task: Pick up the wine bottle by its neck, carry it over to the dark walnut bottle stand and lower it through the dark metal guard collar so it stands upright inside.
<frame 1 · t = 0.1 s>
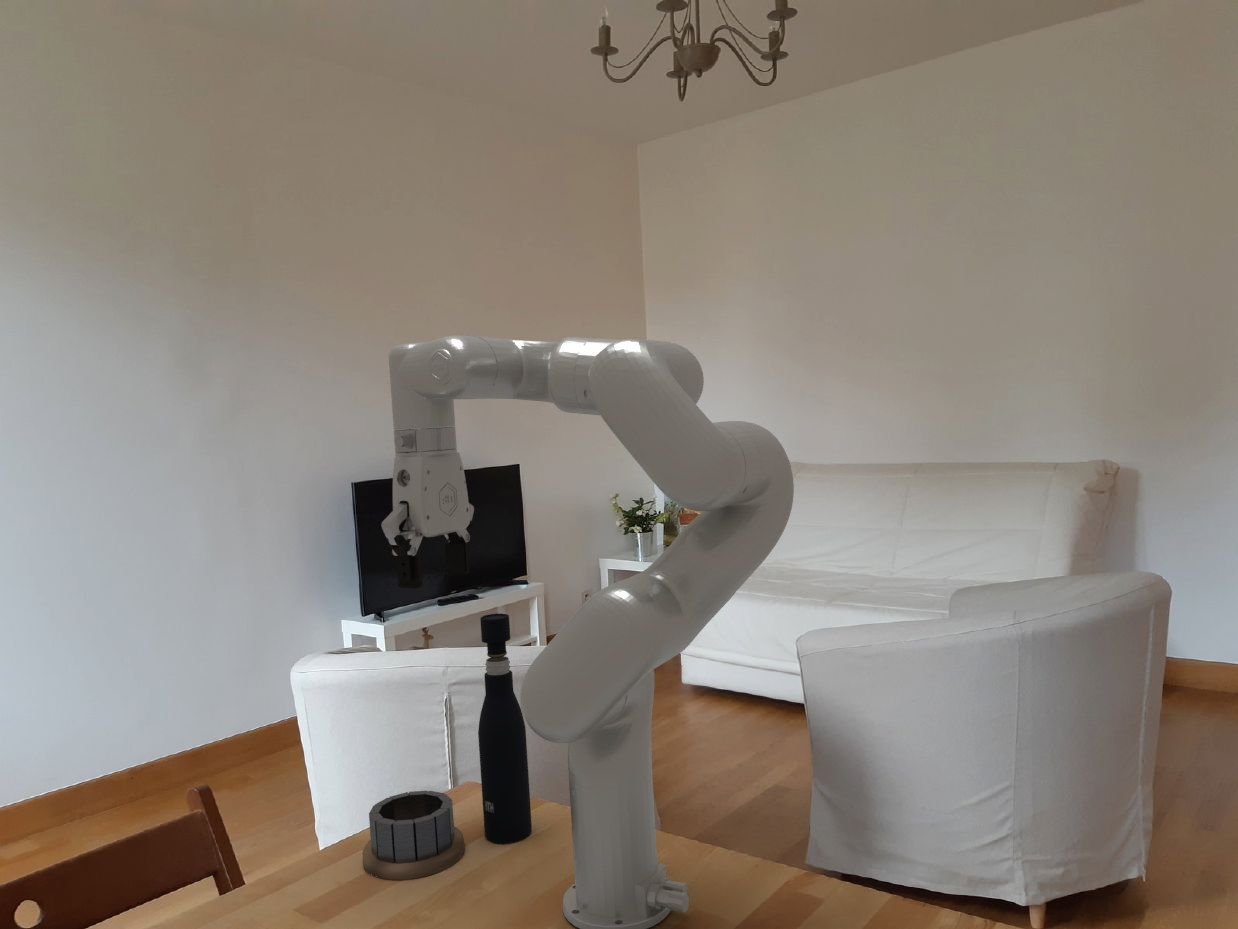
hand: (435, 580, 117), 37 cm above the table, tool pointing down, fingers open, 9 cm apart
bottle stand: (414, 855, 123), on the table
wine bottle: (508, 835, 127), on the table
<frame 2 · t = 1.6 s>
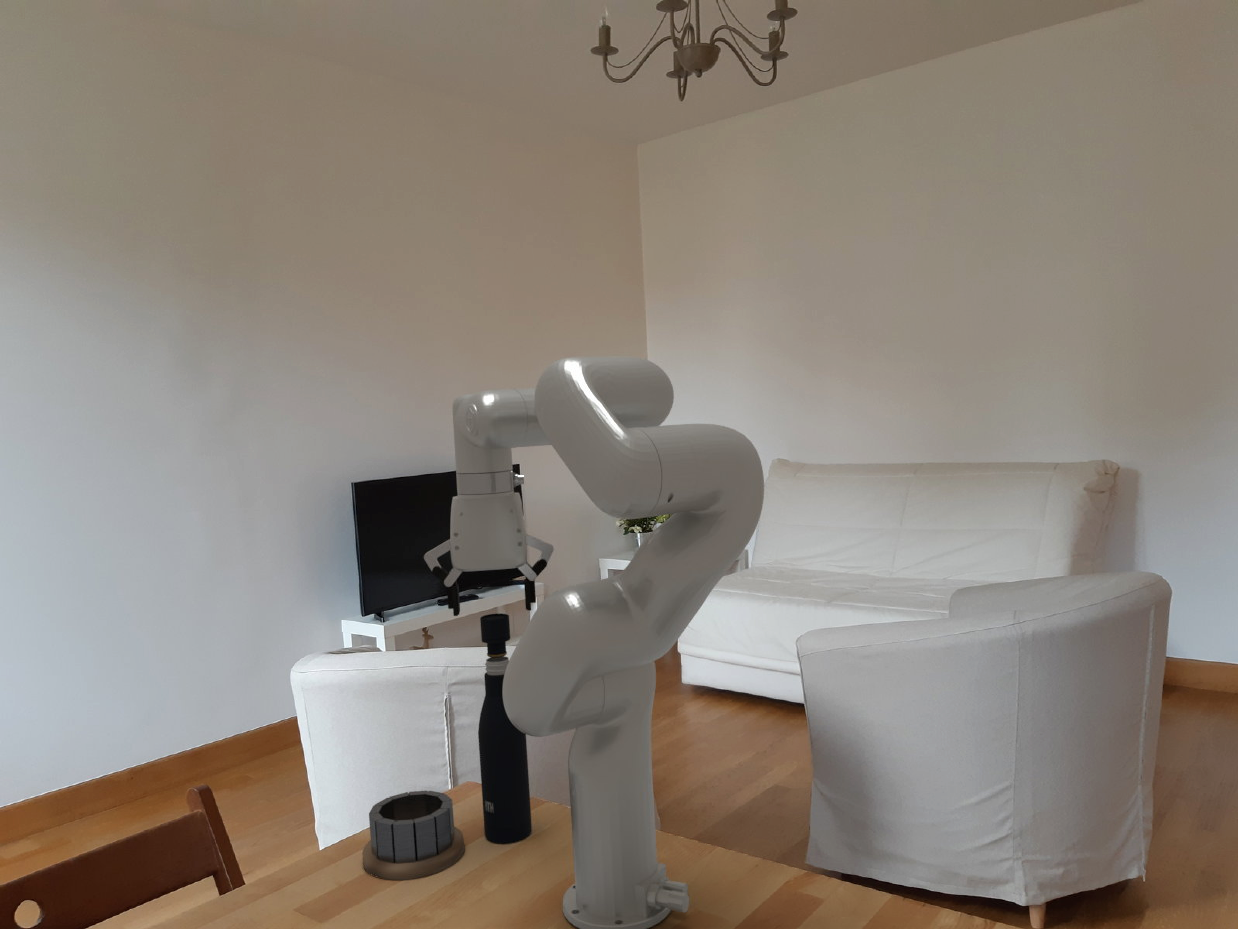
hand: (492, 611, 126), 31 cm above the table, tool pointing down, fingers open, 9 cm apart
nothing on the table moved.
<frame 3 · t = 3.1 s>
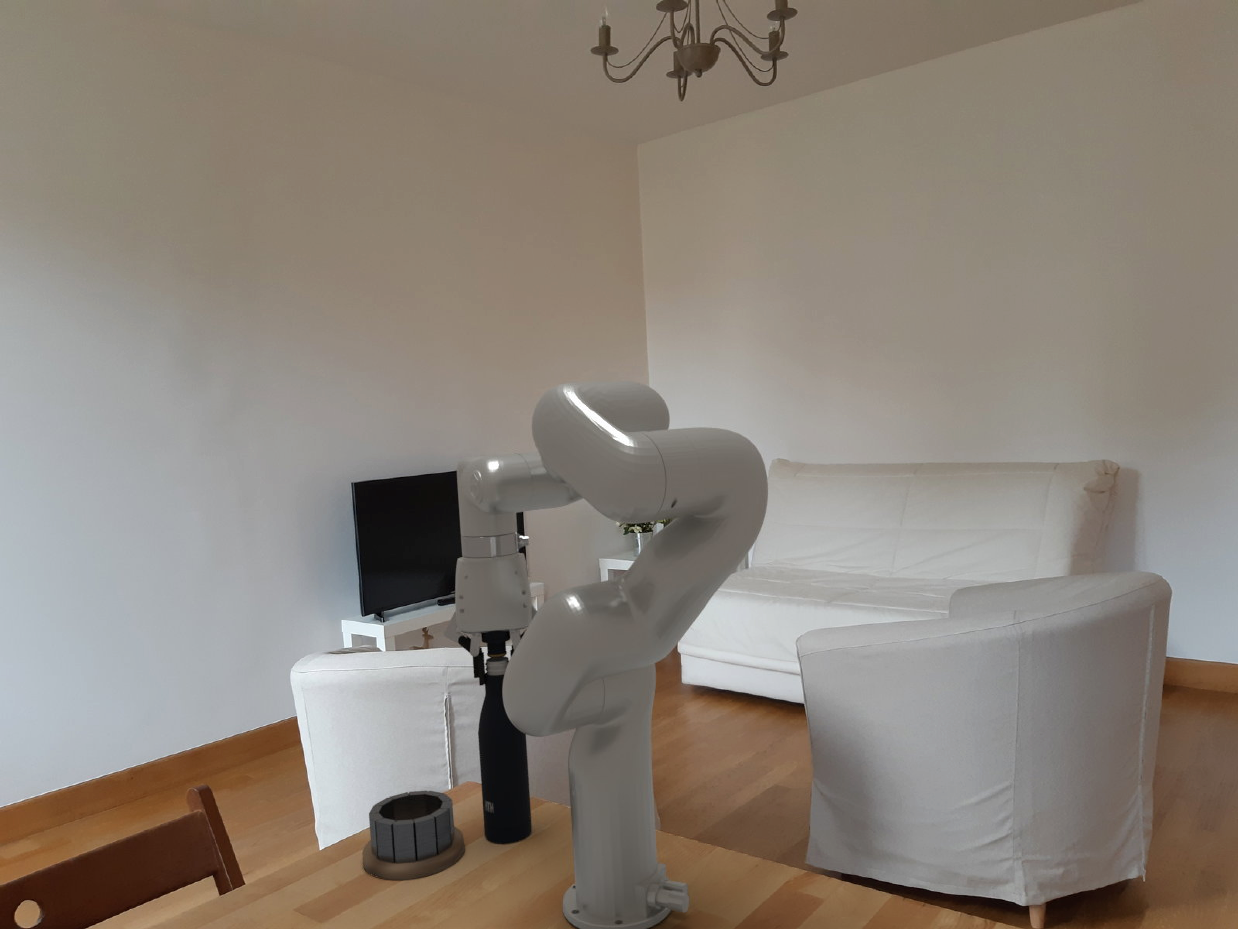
hand: (498, 680, 126), 21 cm above the table, tool pointing down, fingers closed on wine bottle, 3 cm apart
wine bottle: (508, 835, 127), on the table, touching gripper
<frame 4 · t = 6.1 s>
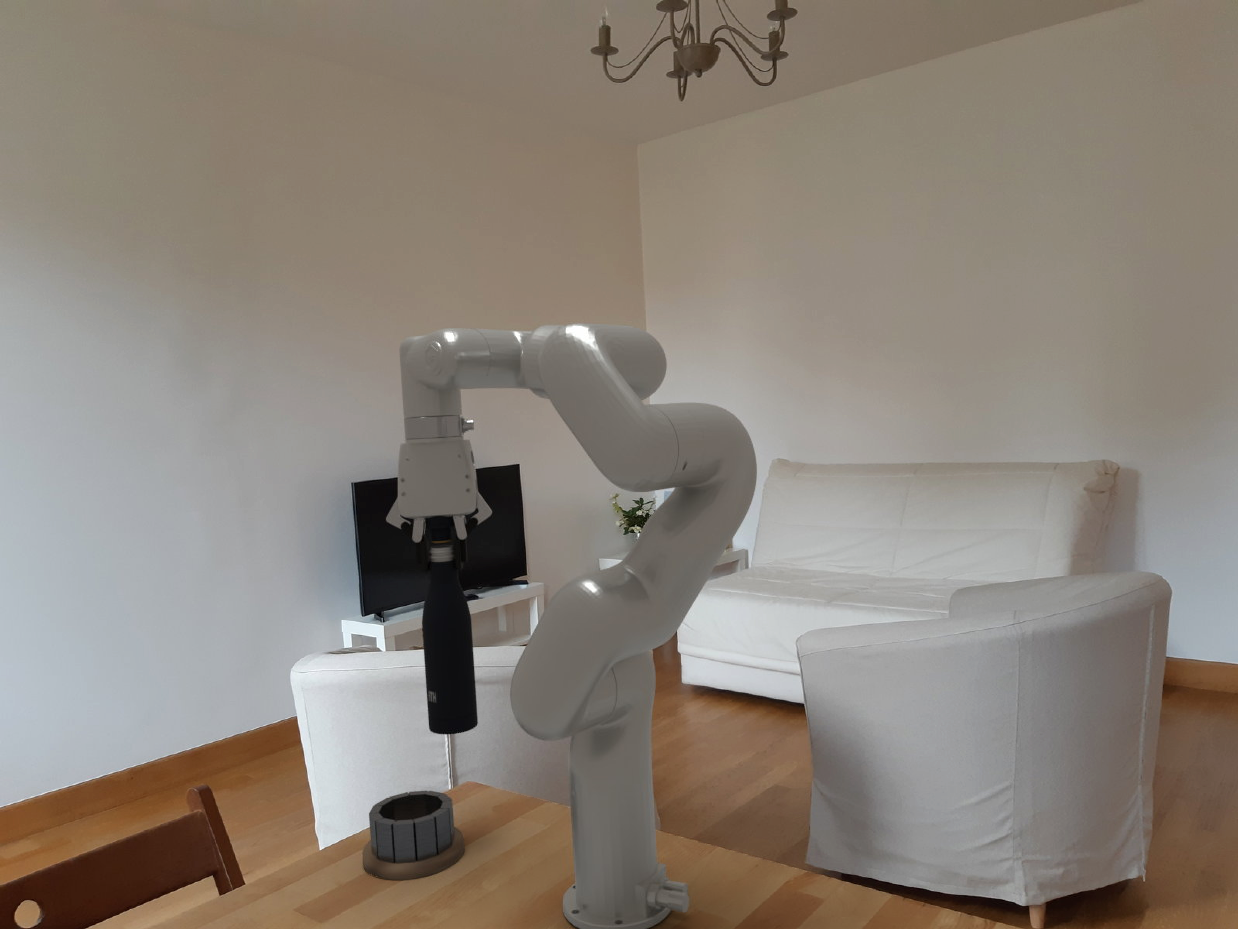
hand: (442, 568, 123), 37 cm above the table, tool pointing down, fingers closed on wine bottle, 3 cm apart
wine bottle: (453, 728, 124), point 16 cm above the table, touching gripper
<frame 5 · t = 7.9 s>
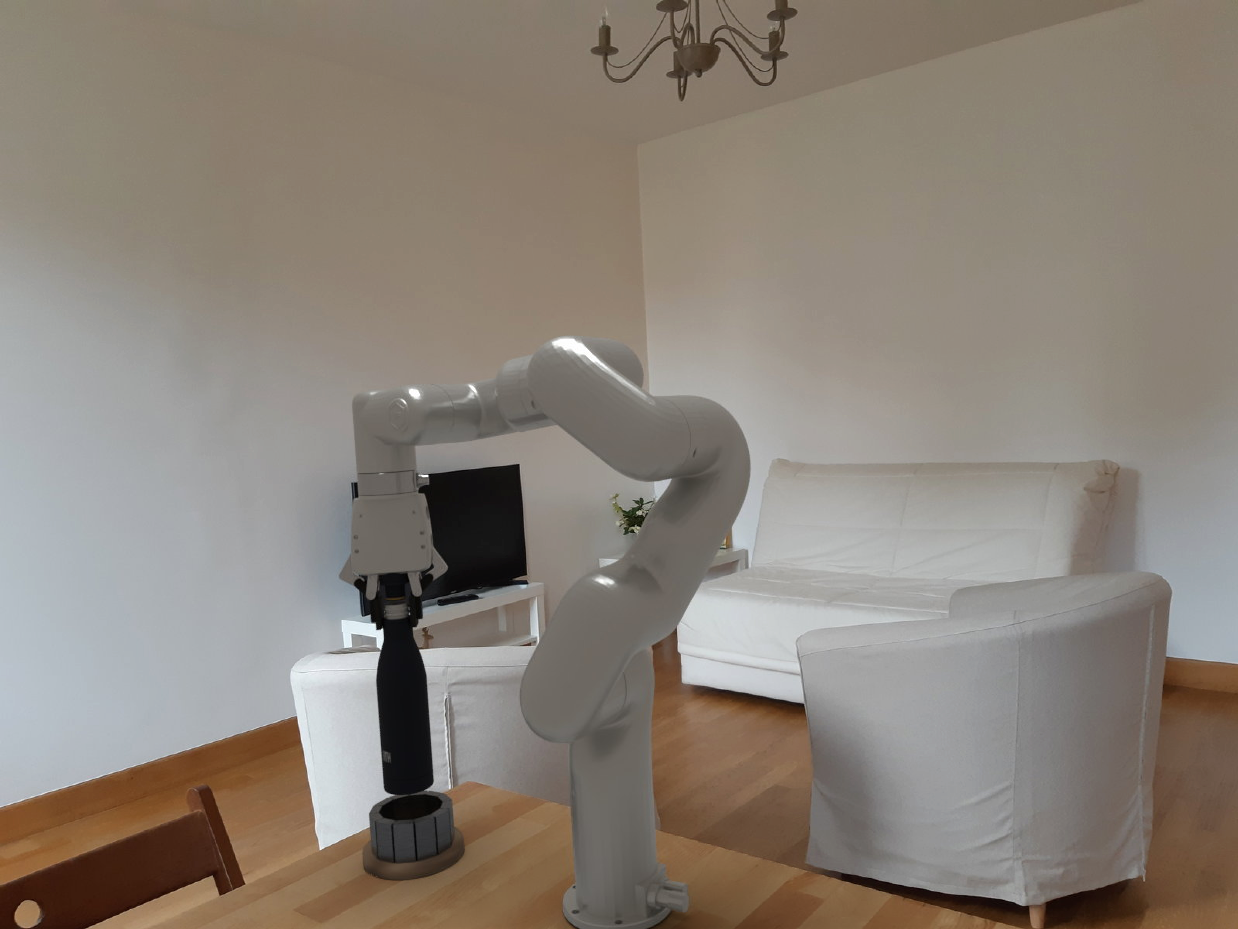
hand: (397, 625, 121), 31 cm above the table, tool pointing down, fingers closed on wine bottle, 3 cm apart
wine bottle: (409, 787, 122), point 9 cm above the table, touching gripper
when the fingers open (25 cm above the table, at t = 9.3 s): wine bottle drops 2 cm, resting on bottle stand.
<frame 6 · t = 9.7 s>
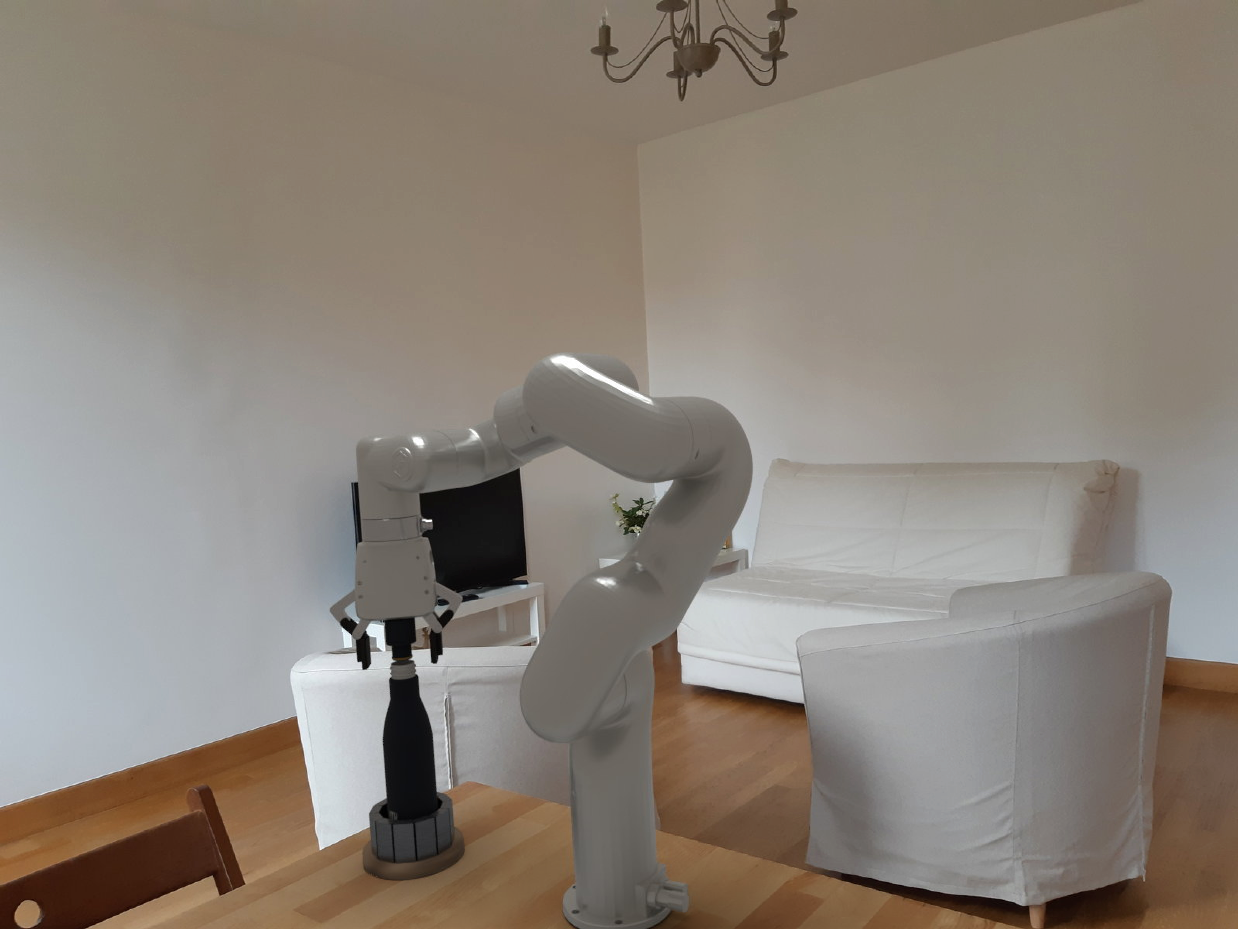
hand: (401, 663, 121), 26 cm above the table, tool pointing down, fingers open, 8 cm apart
wine bottle: (415, 845, 122), point 1 cm above the table, touching bottle stand
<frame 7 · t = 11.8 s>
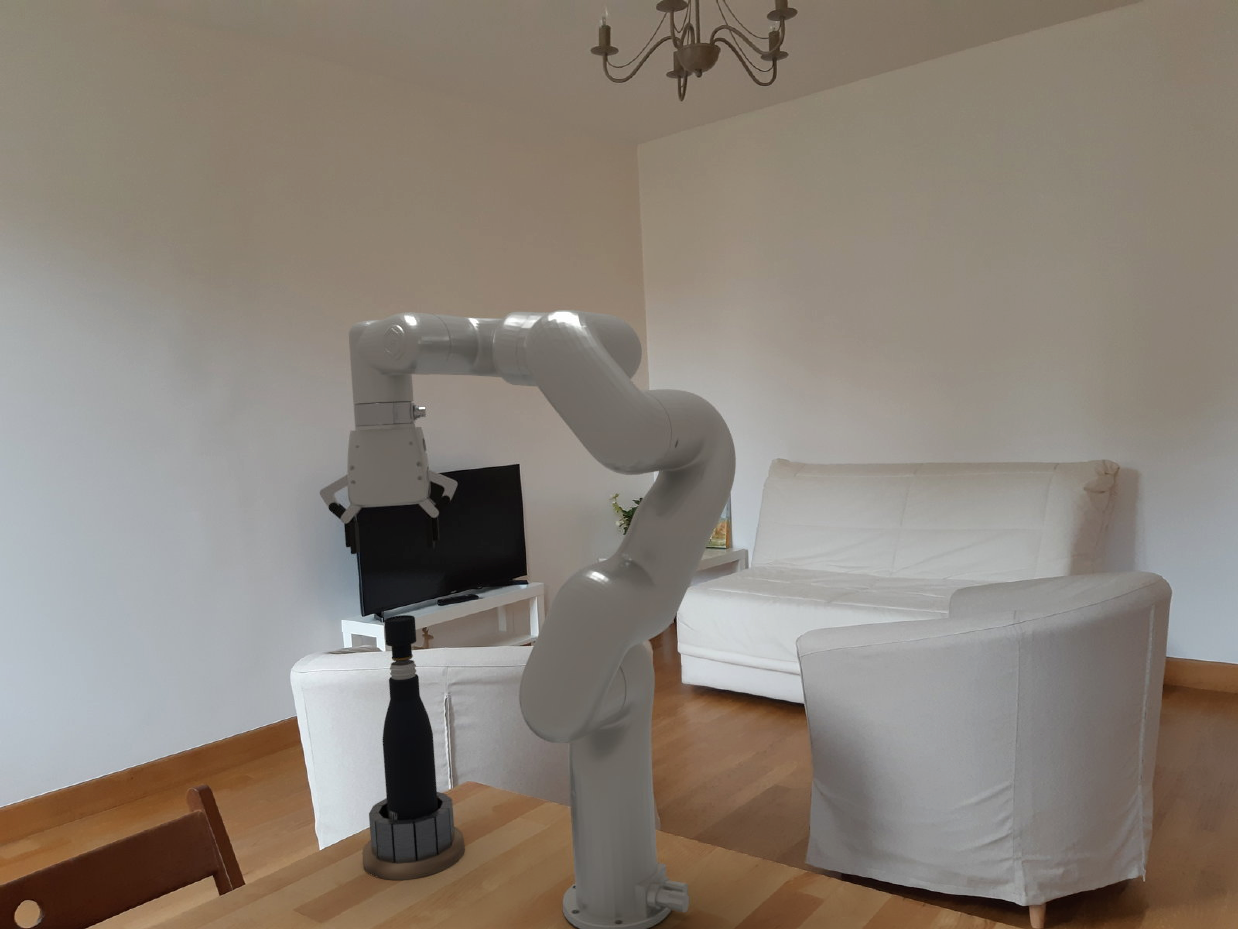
hand: (393, 550, 121), 40 cm above the table, tool pointing down, fingers open, 9 cm apart
nothing on the table moved.
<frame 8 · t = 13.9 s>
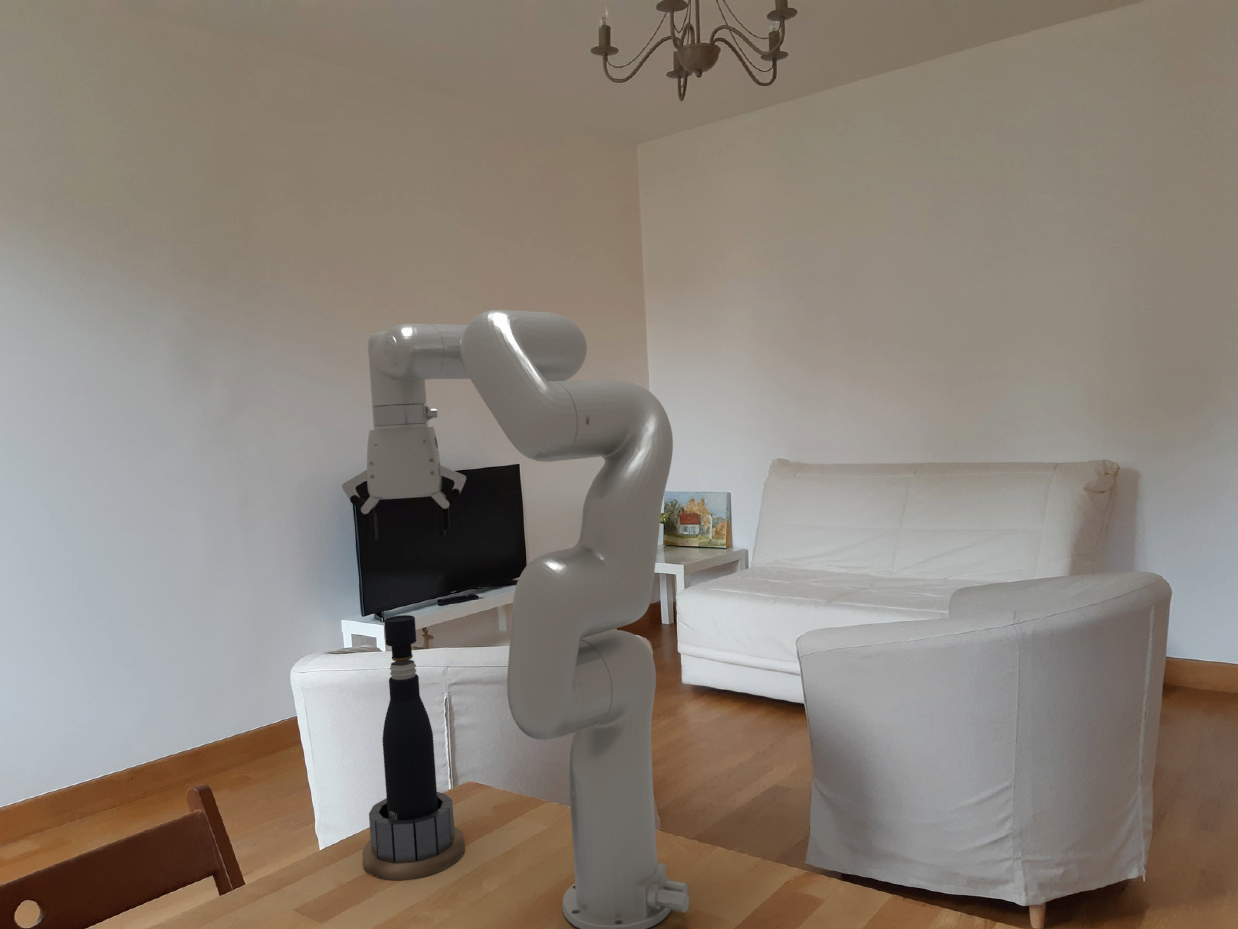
hand: (408, 538, 133), 40 cm above the table, tool pointing down, fingers open, 9 cm apart
nothing on the table moved.
at the end: wine bottle 0.2 cm off-centre on the bottle stand, point 1.3 cm above the bottle stand's base; wine bottle tilted 0°; the gripper is holding nothing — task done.
